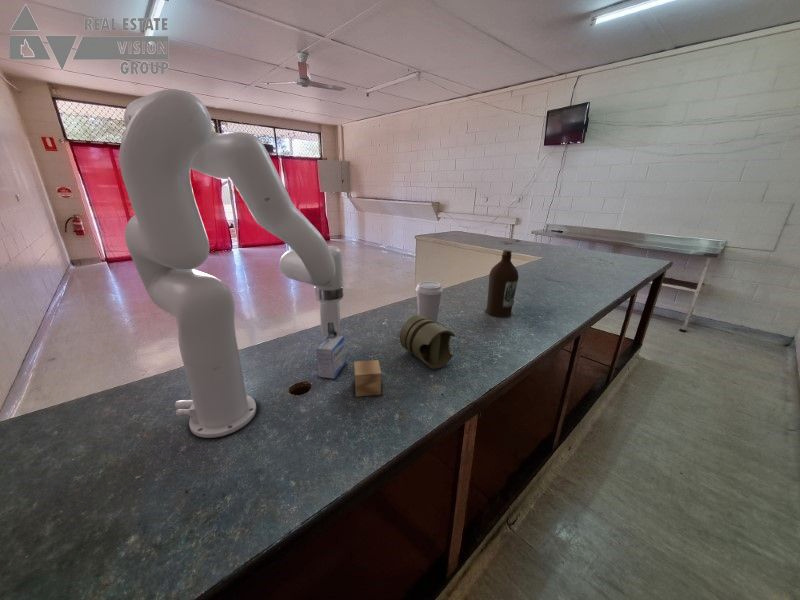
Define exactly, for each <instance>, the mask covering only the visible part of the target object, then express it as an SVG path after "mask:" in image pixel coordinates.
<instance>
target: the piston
mask: <svg viewBox="0 0 800 600" xmlns="http://www.w3.org/2000/svg"><path fill="white" fill-rule="evenodd" d="M451 337H453V338H455V337H456V335H455V333H454V332H452V331H451V330H450V329H447V328H445V327H444V326H442V325H440V324H438V323H435V322H433V321H432V320H430V319H428V318H426V317H424V316H422V315H418V314H417V315H413V316H412V317H409V318H408V319H407V320H406V321H405V322H404V324H403V325H402V327H401V329H400V331H399V343H400V345H401V347H402V348H404V349H405V350H406V351H407V352H409V353H410V354H411V355H412V356H414V357H415V358H416V359H418V360H419V361H420V362H421V363H422V364H424V365H426V366H427V367H429V368H430V369H434V370H435V369H441V368H442V367H444V366H446V365H447V364H448V363H449V362H450V361H451V359H453V357H454V353H453V352H452V349H451Z"/></svg>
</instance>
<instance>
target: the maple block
mask: <svg viewBox="0 0 800 600" xmlns="http://www.w3.org/2000/svg"><path fill="white" fill-rule="evenodd" d="M353 365H354V388H355V389H354V391H355V397H365V396H366V397H367V396H368V397H369V396H379V395H382V372H381V366H380V361H379V359H372V360H371V359H370V360H358V361H357V360H356V361H354V362H353Z"/></svg>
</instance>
